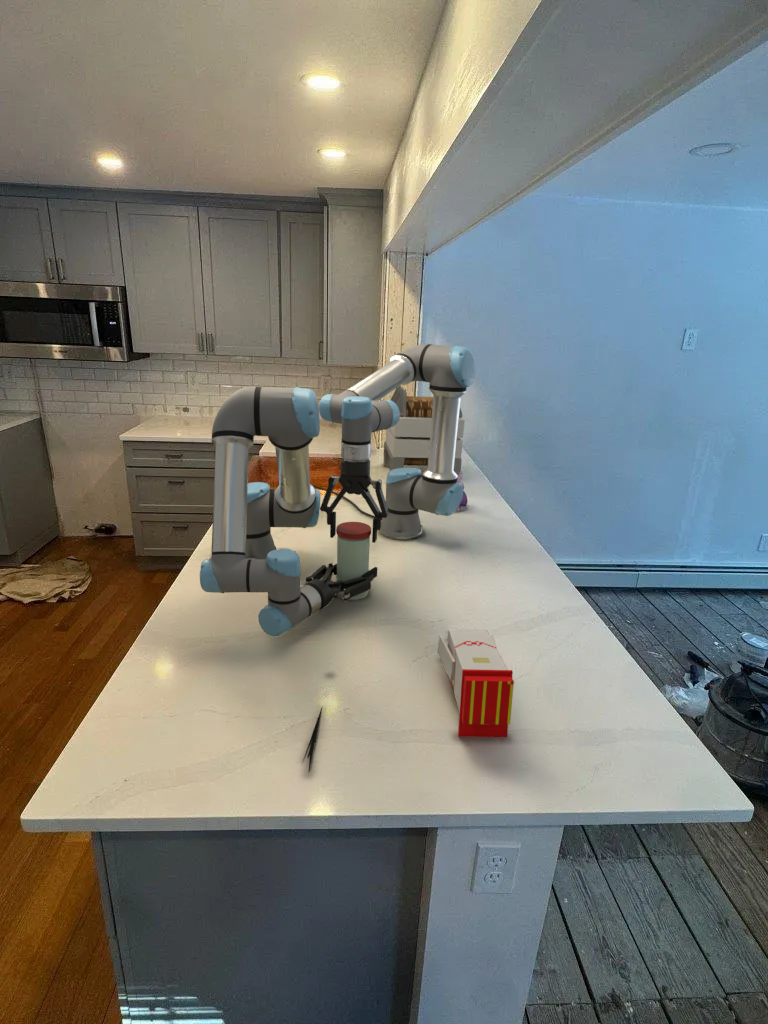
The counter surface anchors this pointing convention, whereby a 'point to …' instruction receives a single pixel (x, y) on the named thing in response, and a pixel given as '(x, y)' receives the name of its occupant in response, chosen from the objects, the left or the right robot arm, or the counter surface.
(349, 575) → the jar
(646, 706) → the counter surface
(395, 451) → the grey slatted crate
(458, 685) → the toy
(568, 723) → the counter surface
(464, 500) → the figurine
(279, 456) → the left robot arm
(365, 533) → the lid
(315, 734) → the feather
